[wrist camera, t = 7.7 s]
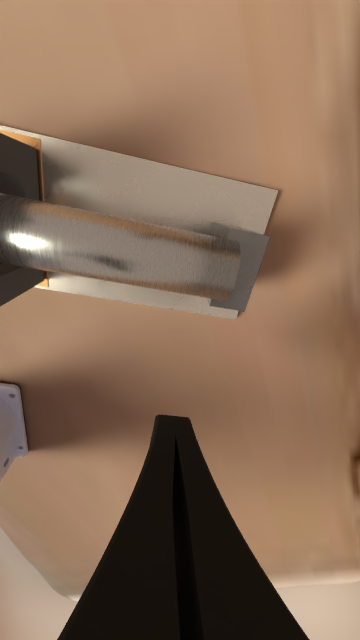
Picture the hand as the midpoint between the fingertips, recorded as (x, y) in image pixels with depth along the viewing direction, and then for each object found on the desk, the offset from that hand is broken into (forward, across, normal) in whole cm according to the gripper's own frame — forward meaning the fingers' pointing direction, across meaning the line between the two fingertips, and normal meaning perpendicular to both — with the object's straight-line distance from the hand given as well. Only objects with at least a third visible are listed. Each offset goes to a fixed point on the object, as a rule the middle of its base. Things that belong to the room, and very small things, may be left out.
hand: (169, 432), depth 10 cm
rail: (+10, +6, -6) cm, 13 cm away
